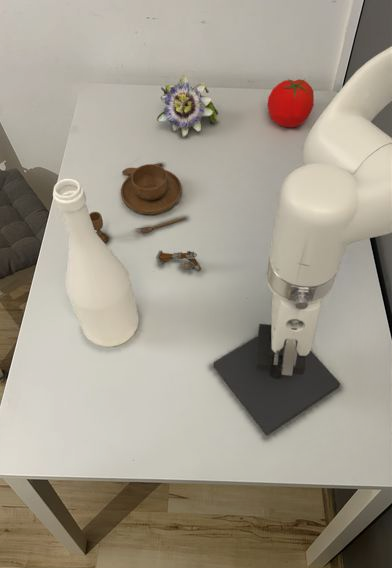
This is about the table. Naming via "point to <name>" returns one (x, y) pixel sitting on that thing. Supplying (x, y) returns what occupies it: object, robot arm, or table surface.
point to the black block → (265, 359)
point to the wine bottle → (94, 274)
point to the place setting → (145, 194)
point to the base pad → (274, 386)
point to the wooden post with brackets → (180, 258)
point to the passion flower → (186, 106)
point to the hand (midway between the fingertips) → (281, 349)
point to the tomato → (290, 102)
